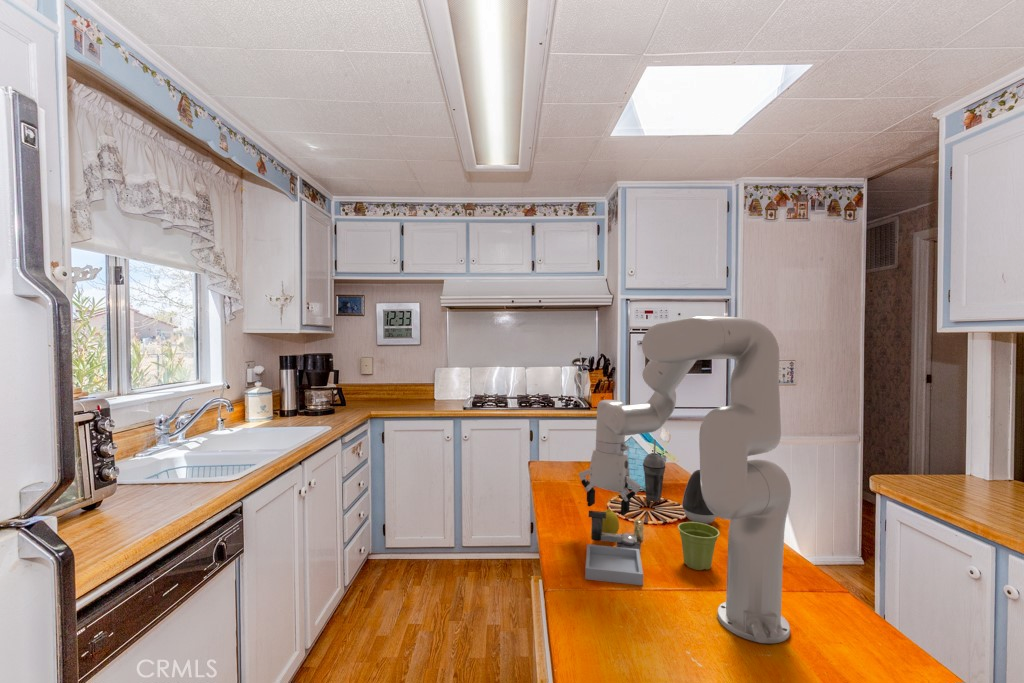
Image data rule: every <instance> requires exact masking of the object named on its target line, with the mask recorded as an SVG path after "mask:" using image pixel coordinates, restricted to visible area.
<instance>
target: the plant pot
mask: <svg viewBox="0 0 1024 683" xmlns="http://www.w3.org/2000/svg"><path fill="white" fill-rule="evenodd" d="M677 530H678V531H679V535H680V538H681V539H680V540H681V546H682V549H681V550H682V556H683V557H682V558H683V563H684V565H686V566H687V567H688V568H690V569H693V570H695V571H696V570H697V571H703V570H706V571H709V570H710V569H711V568H712V563H713V557H714V551H715V548H716V543H717V540H718V538H719V536H720V530H719V529H718V528H716V527H714V526H711V525H710V524H703V523H698V522H693V521H686V522H681V523H679V524H678V525H677Z"/></svg>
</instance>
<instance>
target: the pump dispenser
mask: <svg viewBox="0 0 1024 683" xmlns="http://www.w3.org/2000/svg"><path fill="white" fill-rule="evenodd" d="M682 509H683V512H684V514H685V516H686V518H688V520H690V522H698V523H703V524H707V525H709V524H711V523H713V522H714V521H715V520H716V519H717V516H716V515H714V514H713V513H712V512H711V511H710V510H709V509H708V507H707V505H706V504H705V501H704V499H703V496H702V491H701V482H700V469H697V470H695V471H693V472H692V474H691V475H690V476H689V479H688V481H687V484H686V486H685V488H684V493H683V496H682Z"/></svg>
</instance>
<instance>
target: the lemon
mask: <svg viewBox="0 0 1024 683" xmlns="http://www.w3.org/2000/svg"><path fill="white" fill-rule="evenodd" d="M602 512H606V519H604V518H603V529H602V533H613V534H618V532H619V527H620V522H619V521H620V520H619V517H618V515H617V514H616V513H615V512H614V511H612V510H611V509H609V508H608V509H606V510H604V511H602Z"/></svg>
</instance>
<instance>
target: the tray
mask: <svg viewBox="0 0 1024 683" xmlns="http://www.w3.org/2000/svg"><path fill="white" fill-rule="evenodd" d="M585 557H586V558H585V572H584V573H585V576H584V579H585V580H588V581H589V580H591V581H598V582H609V583H618V584H625V585H634V586H644V571H643V570H644V569H643V565H642V559H641V553H640V551H639V549H633V548H622V547H616V546H610V545H600V544H589V543H587V544H586V556H585Z"/></svg>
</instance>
